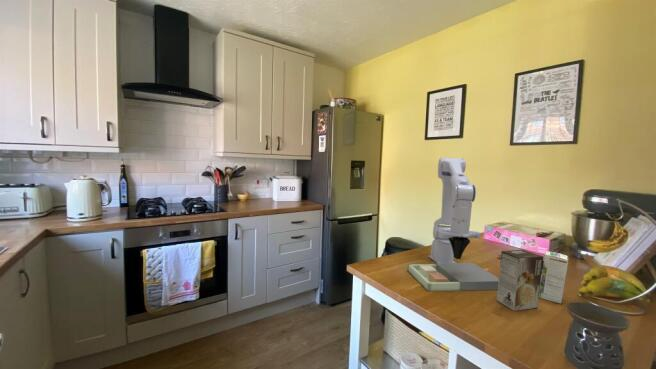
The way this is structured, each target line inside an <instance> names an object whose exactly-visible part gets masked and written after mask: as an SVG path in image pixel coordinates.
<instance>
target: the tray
mask: <svg viewBox="0 0 656 369" xmlns="http://www.w3.org/2000/svg"><path fill="white" fill-rule="evenodd" d="M419 266H432V267H433V268H434V269H436V265H435V263H434V264H433V263H431V264H429V263H428V264H427V263H426V264H425V263H424V264H418V263H417V264H408V266H407V271H408V273H409V274H410V275H411V276H412V277H413V278H414V279H415V280H416V281H418V282H419V284H421V286H422V287H424V289H425V290H426V291H427V292H445V291H446V292H448V291H449V292H453V291H456V292H457V291H459V288H460V283H459V282H450V281H449V280H448V282H430V281H429V280H428V278H429V277H424V276H423V275H422V274H421V273H419ZM437 273H439V272H437Z"/></svg>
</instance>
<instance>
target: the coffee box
mask: <svg viewBox="0 0 656 369" xmlns="http://www.w3.org/2000/svg"><path fill="white" fill-rule="evenodd" d="M500 255H501V257H500V263H499V264H500V266H499V274H498V278H499V282H498V290H497V292H496V302H497V301H498V302H499V303H501V304H503V305H504V306H505V307H507V308H508V309H510V310H512V311H514V312H515V311H522V310H529V309H530V310H531V309H536V308H538V306H539V299H540V298H539V291H540V284H541V276H542V265H543V261H544V256H543V255H541V254H537V253H534V252H533V251H528V250H526V249H514V250H502V251H501V254H500Z"/></svg>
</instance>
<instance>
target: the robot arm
mask: <svg viewBox="0 0 656 369" xmlns="http://www.w3.org/2000/svg"><path fill="white" fill-rule="evenodd" d="M437 163H438V165H437V178H439V179H441V182H442V193H441V194H442V195H441V198H442V199H441V217H439V218H438V219H436V220H435V221H434V223H433V229H432V238H433V240H432V242H431V249H430V255H428V258H429V259H432V260H433V262H435V263H457V262H456V261H454V258H455V259H456V260H461V259H462V256H463V253H464V252H465V250H466V248H467V246H468V245H469V244H470V242H471V240H470V239H473V238H474V239H481V236H482V235H481V234H482V233H481V232H479V231H476V230H475V231H473V230H472V231H471V230H470V226H471V220H472V218H471V217H472V208H473V202H474V201H475V199H476V196H477V190H476V186H475V184H472V183H471V182H470V180H469V178H468V176H467V174H466V173H465V171H466V167H467V161H466V159H465V158H464V157H463V158H455V157H454V158H451V157H442V156H441V157H440V158H439V159H438V162H437Z"/></svg>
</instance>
